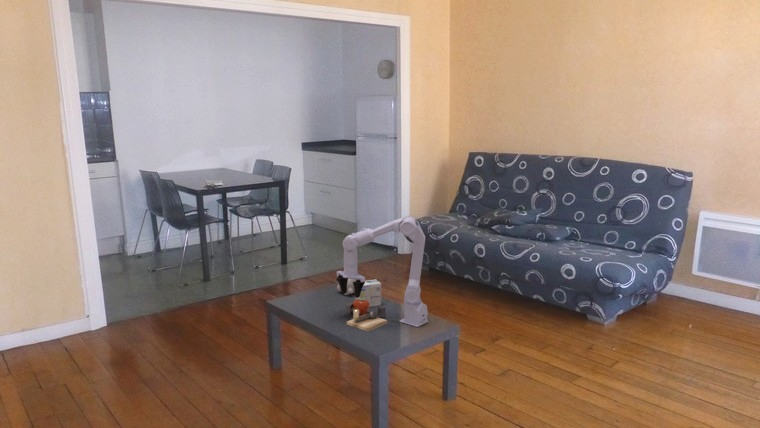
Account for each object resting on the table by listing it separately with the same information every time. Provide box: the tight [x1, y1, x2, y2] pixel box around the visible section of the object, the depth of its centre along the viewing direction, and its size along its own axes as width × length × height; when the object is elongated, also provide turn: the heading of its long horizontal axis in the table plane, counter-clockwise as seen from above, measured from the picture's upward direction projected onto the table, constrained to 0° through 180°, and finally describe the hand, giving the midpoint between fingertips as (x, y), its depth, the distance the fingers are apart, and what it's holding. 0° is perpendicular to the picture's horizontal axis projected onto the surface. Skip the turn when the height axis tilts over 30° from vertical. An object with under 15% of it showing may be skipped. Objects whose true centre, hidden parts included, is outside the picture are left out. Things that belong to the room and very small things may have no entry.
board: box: [346, 313, 388, 332], centre depth 236 cm, size 12×12×1 cm
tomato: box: [352, 296, 371, 316], centre depth 247 cm, size 7×7×8 cm
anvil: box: [343, 301, 354, 317], centre depth 248 cm, size 3×7×4 cm, turn 163°
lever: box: [352, 305, 386, 322], centre depth 238 cm, size 16×4×5 cm, turn 129°
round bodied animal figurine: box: [336, 278, 356, 296], centre depth 275 cm, size 7×12×8 cm, turn 46°
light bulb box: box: [354, 279, 382, 308], centre depth 258 cm, size 11×7×11 cm, turn 111°
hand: (350, 295), depth 240 cm, fingers open, 7 cm apart
